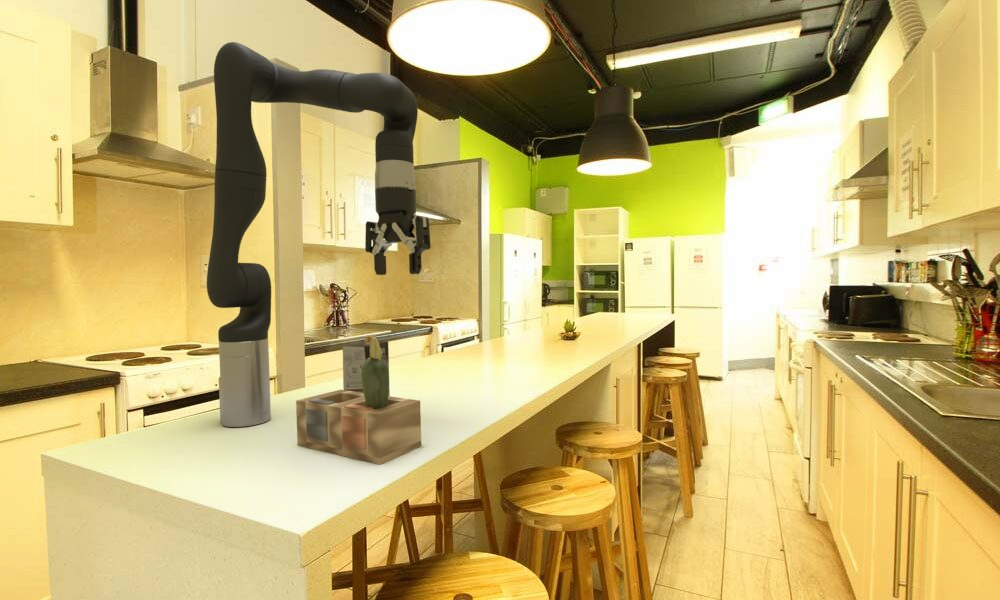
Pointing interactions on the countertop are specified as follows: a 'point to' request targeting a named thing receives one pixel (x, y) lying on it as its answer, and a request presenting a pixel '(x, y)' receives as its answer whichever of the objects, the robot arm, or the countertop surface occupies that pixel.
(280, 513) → the countertop surface
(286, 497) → the countertop surface
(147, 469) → the countertop surface
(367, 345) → the coffee box
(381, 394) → the vegetable
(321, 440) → the holder
